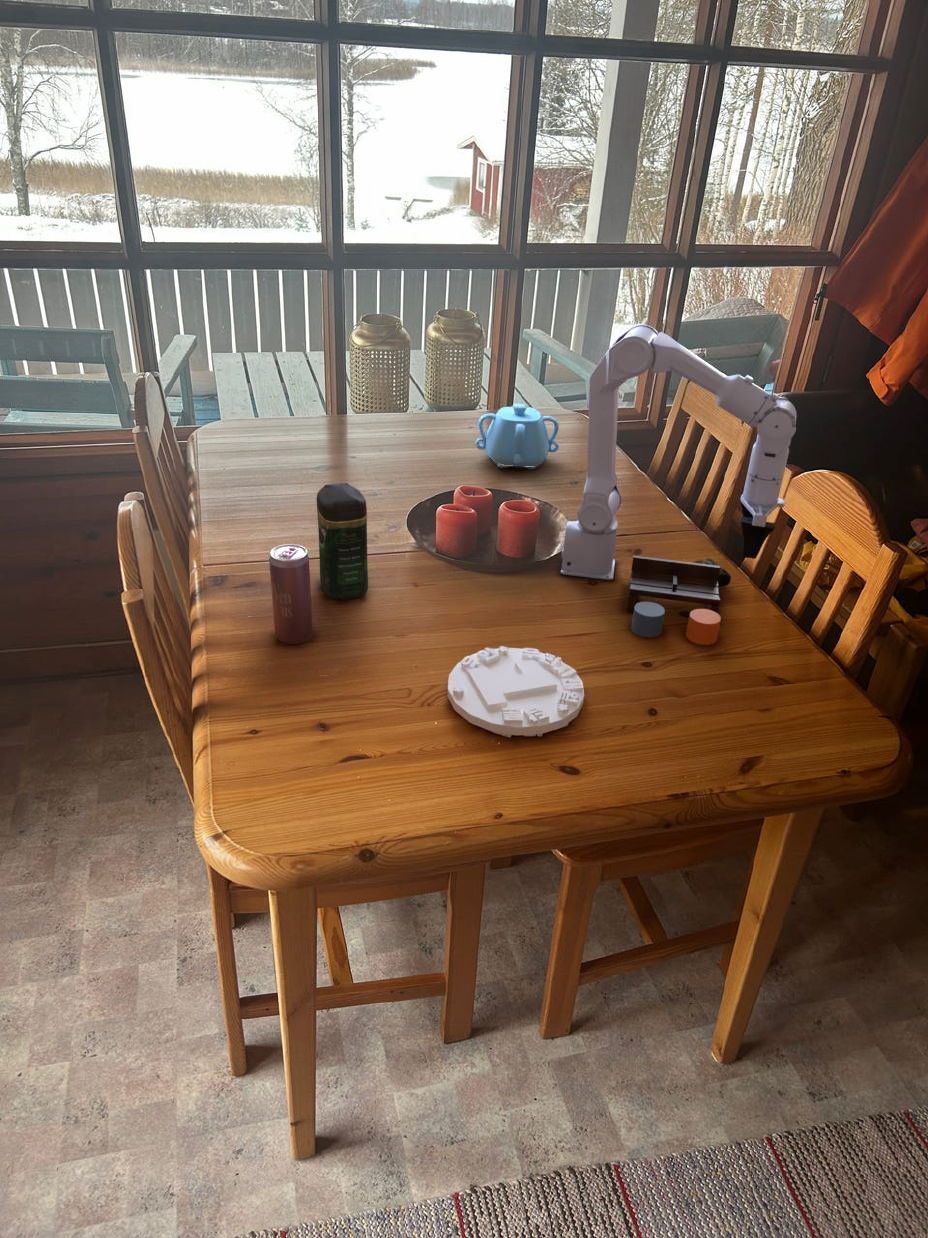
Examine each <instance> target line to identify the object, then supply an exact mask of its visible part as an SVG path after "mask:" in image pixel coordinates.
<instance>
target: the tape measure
mask: <svg viewBox="0 0 928 1238" xmlns="http://www.w3.org/2000/svg"><path fill="white" fill-rule="evenodd" d="M691 563H699V564H707V565H716V566H720V565H719V564H718V563H717V562H716V561H714V559H712V558H705V559H695V560H693V561H691ZM731 580H732V576H731V574H730V573H729V572H728V571H727V570H725V569H724V568H723V567H722V566H720V572H719V577H718V589H720V588H723V587H724V588H725V587H727V586H729V584H730V583H731Z"/></svg>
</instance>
